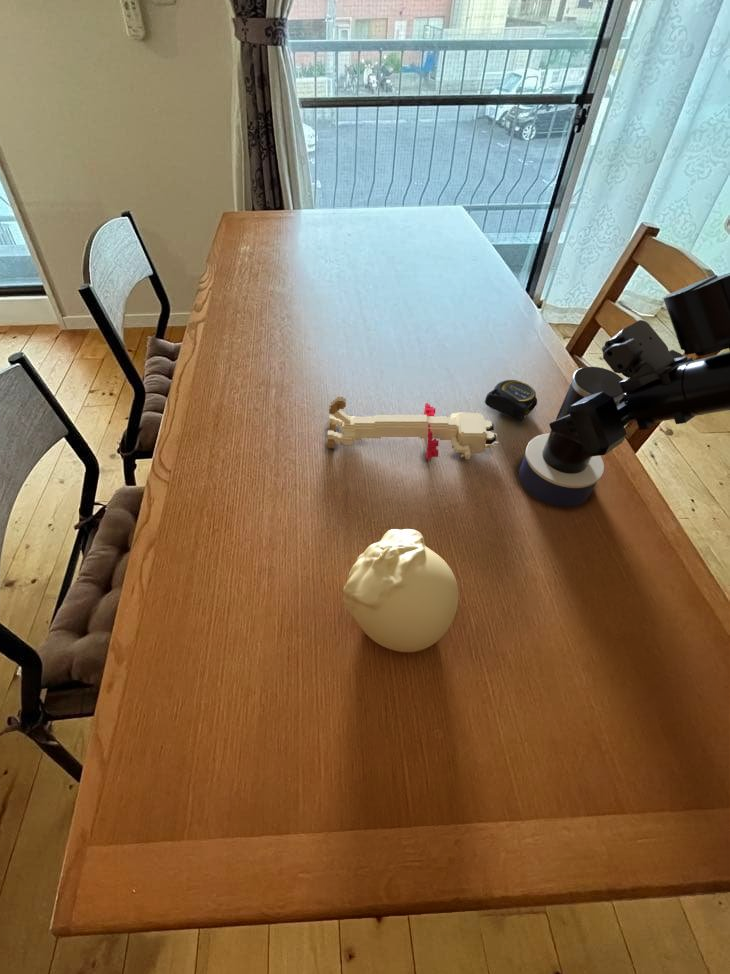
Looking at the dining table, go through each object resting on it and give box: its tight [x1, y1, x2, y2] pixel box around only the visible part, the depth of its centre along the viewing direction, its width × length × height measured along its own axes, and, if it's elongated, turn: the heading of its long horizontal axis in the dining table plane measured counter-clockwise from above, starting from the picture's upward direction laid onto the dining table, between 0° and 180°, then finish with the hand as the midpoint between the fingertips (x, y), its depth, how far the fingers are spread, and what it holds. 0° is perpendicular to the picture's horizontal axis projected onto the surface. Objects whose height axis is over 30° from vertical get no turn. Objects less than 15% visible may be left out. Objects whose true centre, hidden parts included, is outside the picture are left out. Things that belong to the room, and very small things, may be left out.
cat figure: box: [327, 396, 499, 461], centre depth 81 cm, size 10×9×25 cm
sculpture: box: [342, 528, 459, 653], centre depth 60 cm, size 12×12×11 cm
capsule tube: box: [542, 366, 625, 474], centre depth 71 cm, size 6×6×13 cm
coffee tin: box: [518, 433, 605, 508], centre depth 78 cm, size 10×10×4 cm
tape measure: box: [484, 379, 538, 423], centre depth 89 cm, size 7×7×4 cm
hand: (573, 413), depth 72 cm, fingers open, 9 cm apart
